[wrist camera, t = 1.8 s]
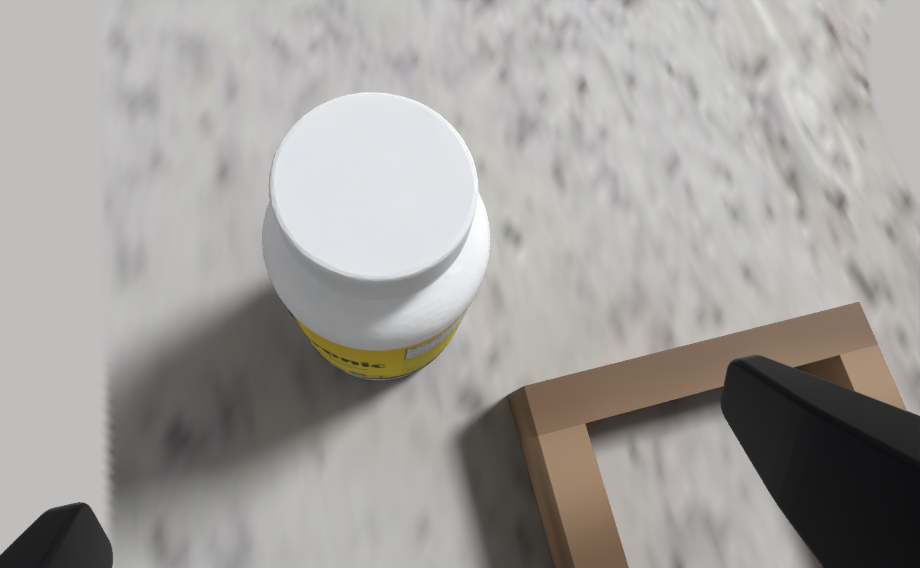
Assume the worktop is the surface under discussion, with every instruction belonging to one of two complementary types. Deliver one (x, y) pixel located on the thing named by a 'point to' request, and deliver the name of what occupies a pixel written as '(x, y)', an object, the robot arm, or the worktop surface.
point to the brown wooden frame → (656, 381)
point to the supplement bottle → (375, 232)
